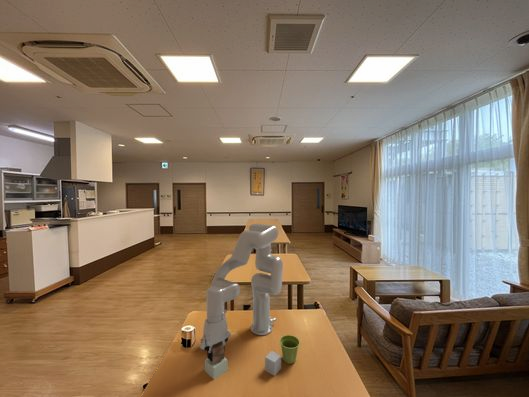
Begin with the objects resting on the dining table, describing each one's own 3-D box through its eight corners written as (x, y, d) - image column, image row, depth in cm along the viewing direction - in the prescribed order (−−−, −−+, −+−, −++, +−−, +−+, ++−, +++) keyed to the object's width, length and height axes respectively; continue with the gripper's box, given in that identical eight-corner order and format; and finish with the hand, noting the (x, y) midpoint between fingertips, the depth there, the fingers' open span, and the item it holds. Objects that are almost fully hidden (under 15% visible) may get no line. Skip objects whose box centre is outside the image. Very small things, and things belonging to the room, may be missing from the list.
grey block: (271, 363, 105) (271, 350, 105) (281, 368, 102) (281, 355, 102) (265, 370, 101) (265, 357, 101) (274, 376, 98) (274, 362, 98)
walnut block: (218, 352, 105) (218, 339, 104) (224, 358, 101) (223, 345, 100) (208, 357, 102) (208, 343, 101) (213, 363, 98) (213, 350, 97)
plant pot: (301, 354, 111) (301, 337, 110) (297, 369, 102) (297, 350, 102) (282, 350, 114) (282, 333, 114) (277, 364, 105) (277, 345, 105)
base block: (218, 362, 106) (217, 351, 106) (227, 370, 101) (227, 359, 101) (204, 371, 101) (204, 360, 101) (214, 380, 96) (214, 368, 96)
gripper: (228, 306, 109) (229, 344, 109) (193, 318, 98) (193, 360, 99) (237, 313, 103) (237, 352, 103) (200, 327, 92) (200, 371, 93)
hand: (216, 356), depth 101 cm, fingers closed on walnut block, 4 cm apart
